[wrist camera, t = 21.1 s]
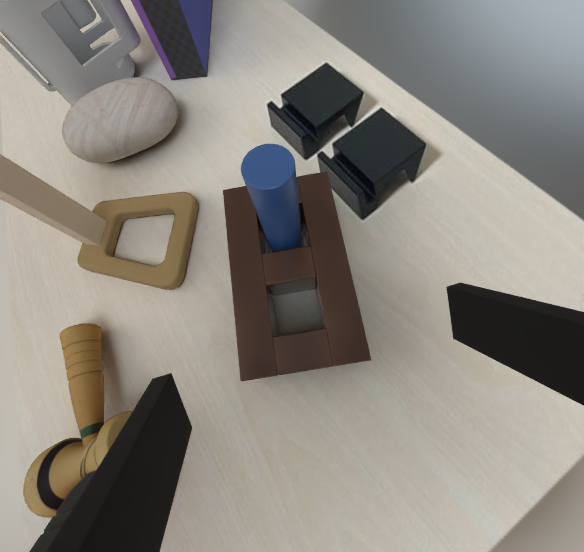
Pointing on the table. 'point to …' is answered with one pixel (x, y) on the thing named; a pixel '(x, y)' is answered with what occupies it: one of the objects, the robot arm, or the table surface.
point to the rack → (292, 286)
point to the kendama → (90, 418)
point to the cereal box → (179, 34)
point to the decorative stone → (119, 119)
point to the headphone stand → (105, 225)
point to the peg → (274, 194)
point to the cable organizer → (69, 42)
